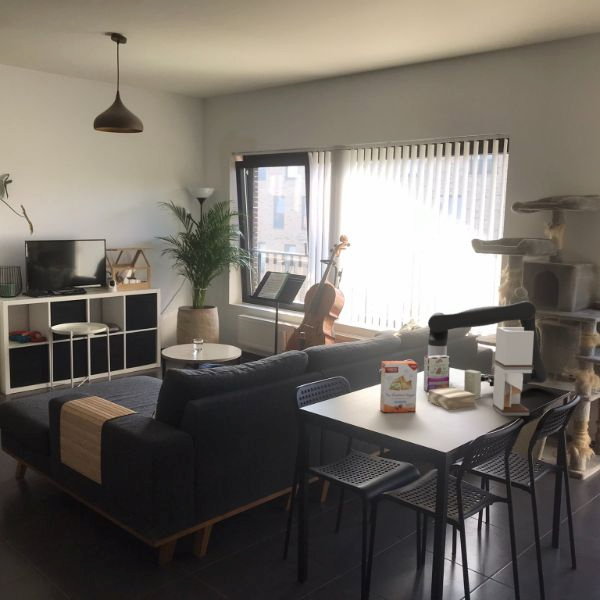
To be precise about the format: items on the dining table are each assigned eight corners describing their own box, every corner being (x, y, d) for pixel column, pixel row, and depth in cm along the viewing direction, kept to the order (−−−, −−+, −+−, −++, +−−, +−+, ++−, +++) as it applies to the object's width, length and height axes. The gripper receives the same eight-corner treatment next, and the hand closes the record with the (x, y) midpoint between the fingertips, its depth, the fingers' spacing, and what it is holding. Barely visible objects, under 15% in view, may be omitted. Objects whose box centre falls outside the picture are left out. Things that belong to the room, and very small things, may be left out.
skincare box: (480, 398, 287) (481, 371, 286) (474, 399, 285) (475, 373, 283) (469, 395, 292) (470, 369, 291) (463, 396, 290) (464, 370, 288)
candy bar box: (444, 388, 305) (445, 354, 303) (449, 390, 300) (450, 356, 298) (422, 389, 302) (423, 355, 300) (427, 392, 297) (428, 357, 295)
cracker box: (383, 413, 262) (385, 363, 260) (379, 409, 268) (381, 360, 266) (416, 412, 265) (418, 363, 262) (411, 408, 270) (413, 360, 268)
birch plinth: (428, 401, 282) (428, 390, 281) (453, 397, 288) (454, 386, 287) (448, 409, 269) (449, 397, 269) (474, 405, 275) (475, 394, 275)
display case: (502, 415, 262) (506, 331, 257) (492, 408, 272) (496, 327, 268) (529, 415, 262) (533, 331, 258) (518, 407, 273) (523, 327, 269)
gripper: (499, 367, 304) (473, 370, 297) (522, 373, 291) (495, 377, 284) (499, 382, 305) (472, 386, 298) (521, 390, 292) (494, 393, 285)
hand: (483, 381), depth 291 cm, fingers open, 8 cm apart
